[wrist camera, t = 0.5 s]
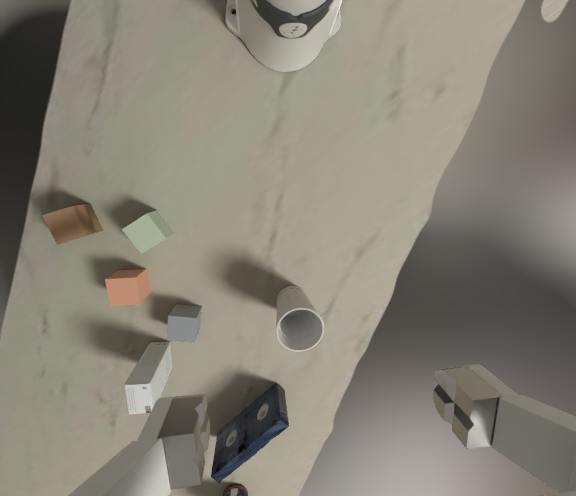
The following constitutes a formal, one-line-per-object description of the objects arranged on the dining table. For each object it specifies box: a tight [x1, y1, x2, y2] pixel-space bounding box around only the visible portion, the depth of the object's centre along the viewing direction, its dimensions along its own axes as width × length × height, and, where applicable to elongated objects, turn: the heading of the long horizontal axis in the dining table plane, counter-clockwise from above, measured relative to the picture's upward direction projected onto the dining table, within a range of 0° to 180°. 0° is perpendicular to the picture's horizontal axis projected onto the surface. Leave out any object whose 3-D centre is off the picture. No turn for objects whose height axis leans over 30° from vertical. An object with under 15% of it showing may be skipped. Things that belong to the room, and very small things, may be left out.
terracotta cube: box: [105, 269, 150, 306], centre depth 51 cm, size 5×5×5 cm
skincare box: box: [124, 342, 173, 414], centre depth 52 cm, size 6×4×12 cm
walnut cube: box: [42, 204, 103, 244], centre depth 48 cm, size 5×5×5 cm
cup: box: [276, 286, 324, 352], centre depth 52 cm, size 8×8×12 cm
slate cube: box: [167, 304, 202, 343], centre depth 54 cm, size 5×5×5 cm
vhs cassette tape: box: [211, 383, 289, 483], centre depth 58 cm, size 18×3×10 cm, turn 130°
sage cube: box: [122, 210, 174, 254], centre depth 50 cm, size 5×5×5 cm
